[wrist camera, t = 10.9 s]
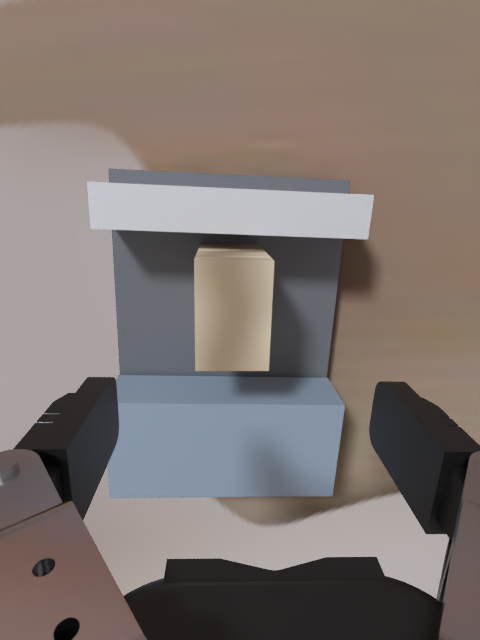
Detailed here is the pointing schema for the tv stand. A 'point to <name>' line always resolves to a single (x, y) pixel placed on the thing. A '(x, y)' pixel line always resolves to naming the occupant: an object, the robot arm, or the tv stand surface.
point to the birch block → (232, 307)
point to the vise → (234, 228)
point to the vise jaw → (225, 437)
